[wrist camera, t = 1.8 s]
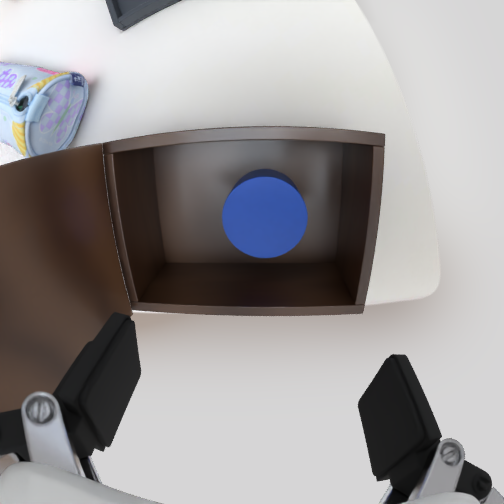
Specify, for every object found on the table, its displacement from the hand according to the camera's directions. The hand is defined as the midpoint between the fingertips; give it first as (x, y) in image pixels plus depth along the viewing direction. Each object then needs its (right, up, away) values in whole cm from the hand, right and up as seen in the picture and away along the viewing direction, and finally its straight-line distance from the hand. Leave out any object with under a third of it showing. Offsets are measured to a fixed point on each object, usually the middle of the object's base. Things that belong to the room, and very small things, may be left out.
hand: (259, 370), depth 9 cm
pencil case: (-25, +22, +11) cm, 35 cm away
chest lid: (-11, +2, 0) cm, 12 cm away
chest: (-1, +9, +15) cm, 17 cm away
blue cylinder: (+1, +8, +14) cm, 16 cm away
